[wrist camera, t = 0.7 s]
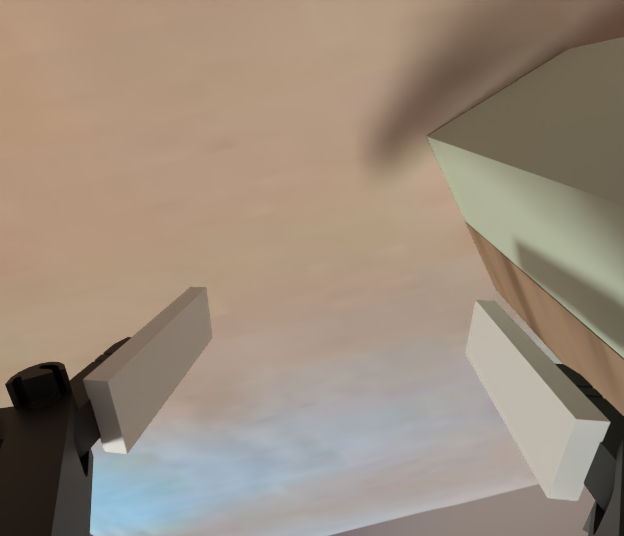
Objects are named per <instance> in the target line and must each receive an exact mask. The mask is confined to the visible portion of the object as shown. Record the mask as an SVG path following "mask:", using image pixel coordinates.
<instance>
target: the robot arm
mask: <svg viewBox="0 0 624 536" xmlns="http://www.w3.org/2000/svg"><path fill="white" fill-rule="evenodd" d="M211 339H212V330H211V322H210V314H209V306H208V298H207V290H206V287H190V288H189V289H188V290H186V291H185V292H184V293H183V294H182V295H181V296H179V297H178V298H177V299H176V300H175V301H174V302H173V303H171V304H170V305H169V306H168V307H167V308H166V309H164V310H163V311H162V312H161V313H160V314H159V315H157V316H156V317H155V318H154V319H153V320H152V321H150V322H149V323H148V324H147V325H146V326H145V327H143V328H142V329H141V330H140V331H139V332H138V333H136V334H135V335H134V336H133V337H127V338H125V339H123V340H121V341H119V342H117V343H115V344H114V345H112V346H111V347H110V348H109V349H108V350H106V351H105V352H104V354H103V355H100V356H99V357H98V358H97V359H95V362H92V363H91V364H89V365H88V366H87V367H86V368H85V369H83V370H82V371H81V372H80V373H78V374H77V375H76V376H75V377H74V378H72V379H71V380H70V381H69V378H68V375H67V372H66V369H65V365H64V364H62V363H60V362H47V363H41V364H38V365H35V366H32V367H29V368H27V369H25V370H23V371H21V372H18V373H17V374H16V375H14V376H13V377H11V378H10V379H9V380H8V382H7V383H6V384H5V385H6V388H7V390H8V393H9V395H10V398H11V400H12V403H13V405H14V406H13V407H7V408H0V536H89V534H90V514H91V494H92V474H93V454H92V451H91V447H92V446H93V445H94V444H95V442H96V441H97V440H98V439H99V438H100V439H101V442H102V445H103V449H104V452H114V453H123V454H128V452H129V451H130V449H131V448H132V447H133V445H134V444H135V443H136V441H137V440H138V439H139V437H140V436H141V434H142V433H143V432H144V430H145V429H146V428H147V426H148V425H149V424H150V422H151V421H152V419H153V418H154V417H155V415H156V414H157V413H158V411H159V410H160V409H161V407H162V406H163V404H164V403H165V402H166V400H167V399H168V398H169V396H170V395H171V394H172V392H173V391H174V389H175V388H176V387H177V385H178V384H179V383H180V381H181V380H182V379H183V377H184V376H185V374H186V373H187V372H188V370H189V369H190V368H191V366H192V365H193V364H194V362H195V361H196V359H197V358H198V357H199V355H200V354H201V353H202V351H203V350H204V349H205V347H206V346H207V344H208V343H209V342H210V340H211ZM465 354H466V356H467V357H468V359H469V361H470V363H471V365H472V366H473V368H474V370H475V372H476V373H477V375H478V377H479V379H480V380H481V382H482V384H483V386H484V387H485V389H486V391H487V393H488V394H489V396H490V398H491V400H492V401H493V403H494V405H495V407H496V408H497V410H498V412H499V414H500V416H501V417H502V419H503V421H504V423H505V424H506V426H507V428H508V430H509V431H510V433H511V435H512V437H513V438H514V440H515V442H516V444H517V445H518V447H519V449H520V451H521V452H522V454H523V456H524V458H525V459H526V461H527V463H528V465H529V467H530V468H531V470H532V472H533V474H534V475H535V477H536V479H537V481H538V482H539V484H540V486H541V487H542V489H543V491H544V493H545V495H546V496H547V498H553V499H563V500H572V501H578V499H579V497H580V494H581V492H582V489H583V487H584V485H585V486H586V487H587V489H588V490H589V492H590V493H591V494H592V496H593V497H594V499H595V500H596V501H595V503H594V505H593V507H592V510H591V512H590V514H589V516H588V519H587V521H586V523H585V526H584V528H583V530H585V531H586V532H589V534H588V536H624V416H623V415H622V414H621V413H620V412H619V411H618V410H617V409H616V408H615V407H614V406H613V405H612V404H611V403H610V402H608V401H607V400H606V399H605V398H603V396H602V395H601V394H600V393H599V392H598V391H597V390H596V389H594V388H593V386H592V385H591V384H590V383H589V382H588V381H587V380H586V379H585V378H584V377H583V376H582V375H581V374H579V373H577V372H576V371H574V370H572V369H571V368H569V367H568V366H566V365H564V364H554V363H553V361H552V360H551V359H550V358H549V357H548V356H547V355H546V354H545V353H544V352H543V351H542V350H541V349H540V348H539V347H538V346H537V345H536V344H535V343H534V342H533V341H532V340H531V339H530V338H529V336H528V335H527V334H526V333H525V332H524V331H523V330H522V329H521V328H520V327H519V326H518V325H517V324H516V323H515V322H514V321H513V320H512V319H511V318H510V317H509V316H508V315H507V314H506V313H505V311H504V310H503V309H502V308H501V307H500V306H499V305H498V304H497V303H496V302H495V301H487V300H476V301H475V306H474V312H473V317H472V322H471V327H470V332H469V337H468V342H467V348H466V353H465Z"/></svg>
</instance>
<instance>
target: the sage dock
mask: <svg viewBox="0 0 624 536" xmlns="http://www.w3.org/2000/svg"><path fill="white" fill-rule="evenodd" d="M426 137H427V139H428V141H429V143H430V146H431V148H432V150H433V152H434V154H435V157H436V159H437V161H438V163H439V165H440V168H441V170H442V172H443V174H444V176H445V179H446V181H447V183H448V185H449V187H450V190H451V192H452V194H453V196H454V198H455V201H456V203H457V205H458V207H459V209H460V212H461V214H462V216H463V218H464V220H465V221H466V222H467V223H468V224H469V225H470V226H472V227H473V228H474V229H475V230H476V231H477V232H478V233H480V234H481V235H482V236H483V237H484V238H485V239H487V240H488V241H489V242H490V243H491V244H492V245H493V246H495V247H496V248H497V249H498V250H499V251H500V252H502V253H503V254H504V255H505V256H506V257H507V258H508V259H510V260H511V261H512V262H513V263H514V264H515V265H517V266H518V267H519V268H520V269H521V270H522V271H524V272H525V273H526V274H527V275H528V276H529V277H530V278H532V279H533V280H534V281H535V282H536V283H537V284H539V285H540V286H541V287H542V288H543V289H544V290H545V291H547V292H548V293H549V294H550V295H551V296H552V297H554V298H555V299H556V300H557V301H558V302H559V303H561V304H562V305H563V306H564V307H565V308H566V309H567V310H569V311H570V312H571V313H572V314H573V315H574V316H576V317H577V318H578V319H579V320H580V321H581V322H582V323H584V324H585V325H586V326H587V327H588V328H589V329H591V330H592V331H593V332H594V333H595V334H596V335H598V336H599V337H600V338H601V339H602V340H603V341H604V342H606V343H607V344H608V345H609V346H610V347H611V348H613V349H614V350H615V351H616V352H617V353H618V354H619V355H621V356H622V357H623V358H624V37H620V38H615V39H611V40H606V41H602V42H597V43H593V44H588V45H584V46H579V47H575V48H570V49H567V50H565V51H564V52H562V53H561V54H559V55H557V56H556V57H554V58H552V59H551V60H549V61H548V62H546V63H544V64H543V65H541V66H539V67H538V68H536V69H535V70H533V71H531V72H530V73H528V74H527V75H525V76H523V77H522V78H520V79H518V80H517V81H515V82H514V83H512V84H510V85H509V86H507V87H505V88H504V89H502V90H501V91H499V92H497V93H496V94H494V95H493V96H491V97H489V98H488V99H486V100H484V101H483V102H481V103H480V104H478V105H476V106H475V107H473V108H471V109H470V110H468V111H467V112H465V113H463V114H462V115H460V116H459V117H457V118H455V119H454V120H452V121H450V122H449V123H447V124H446V125H444V126H442V127H441V128H439V129H437V130H436V131H434V132H433V133H431V134H429V135H428V136H426Z"/></svg>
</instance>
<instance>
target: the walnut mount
mask: <svg viewBox="0 0 624 536" xmlns="http://www.w3.org/2000/svg"><path fill="white" fill-rule="evenodd" d="M466 224H467V226H468V229H469V231H470V233H471V235H472V238H473V240H474V242H475V244H476V246H477V249H478V251H479V253H480V255H481V257H482V260H483V262H484V264H485V266H486V268H487V271H488V273H489V275H490V277H491V279H492V282H493V284H494V286H495V288H496V290H497V291H498V292H499V293H500V295H501V296H502V297H503V298H504V299H505V300H506V301H507V302H508V303H509V305H510V306H511V307H512V308H513V309H514V310H515V311H516V312H517V313H518V315H519V316H520V317H521V318H522V319H523V320H524V321H525V322H526V323H527V325H528V326H529V327H530V328H531V329H532V330H533V331H534V332H535V334H536V335H537V336H538V337H539V338H540V339H541V340H542V341H543V342H544V344H545V345H546V346H547V347H548V348H549V349H550V350H551V351H552V352H553V354H554V355H555V356H556V357H557V358H558V359H559V360H560V361H561V362H562V364H564V365H566V366H568V367H569V368H571V369H572V370H574V371H576V372H577V373H579V374H581V375H582V376H583V377H584V378H585V379H586V380H587V381H588V382H589V383H590V384H591V385H592V386H593V388H594V389H596V390H597V391H598V392H599V393H600V394H601V395H602V396H603V398H605V399H606V400H607V401H608V402H610V403H611V404H612V405H613V406H614V407H615V408H616V409H617V410H618V411H619V412H620V413H621V414H622V415H623V416H624V358H623V357H622V356H621V355H619V354H618V353H617V352H616V351H615V350H614V349H613V348H611V347H610V346H609V345H608V344H607V343H606V342H604V341H603V340H602V339H601V338H600V337H599V336H598V335H596V334H595V333H594V332H593V331H592V330H591V329H589V328H588V327H587V326H586V325H585V324H584V323H582V322H581V321H580V320H579V319H578V318H577V317H576V316H574V315H573V314H572V313H571V312H570V311H569V310H567V309H566V308H565V307H564V306H563V305H562V304H561V303H559V302H558V301H557V300H556V299H555V298H554V297H552V296H551V295H550V294H549V293H548V292H547V291H545V290H544V289H543V288H542V287H541V286H540V285H539V284H537V283H536V282H535V281H534V280H533V279H532V278H530V277H529V276H528V275H527V274H526V273H525V272H524V271H522V270H521V269H520V268H519V267H518V266H517V265H515V264H514V263H513V262H512V261H511V260H510V259H508V258H507V257H506V256H505V255H504V254H503V253H502V252H500V251H499V250H498V249H497V248H496V247H495V246H493V245H492V244H491V243H490V242H489V241H488V240H487V239H485V238H484V237H483V236H482V235H481V234H480V233H478V232H477V231H476V230H475V229H474V228H473V227H472V226H470V225H469V224H468V223H467V222H466Z"/></svg>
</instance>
